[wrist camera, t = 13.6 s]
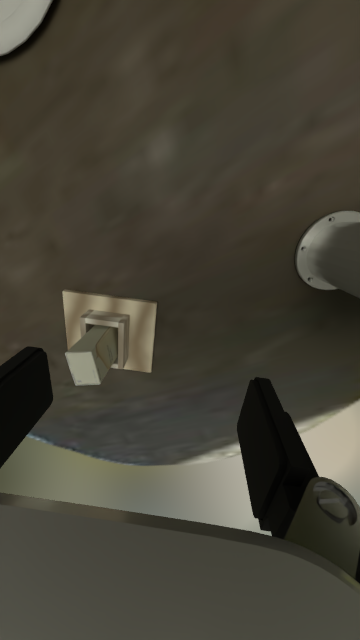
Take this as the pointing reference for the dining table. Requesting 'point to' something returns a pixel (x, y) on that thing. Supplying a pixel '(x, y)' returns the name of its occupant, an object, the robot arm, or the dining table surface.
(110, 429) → the dining table surface
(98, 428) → the dining table surface
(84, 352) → the skincare box
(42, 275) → the dining table surface
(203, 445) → the dining table surface
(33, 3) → the plated food
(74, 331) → the socket stand
